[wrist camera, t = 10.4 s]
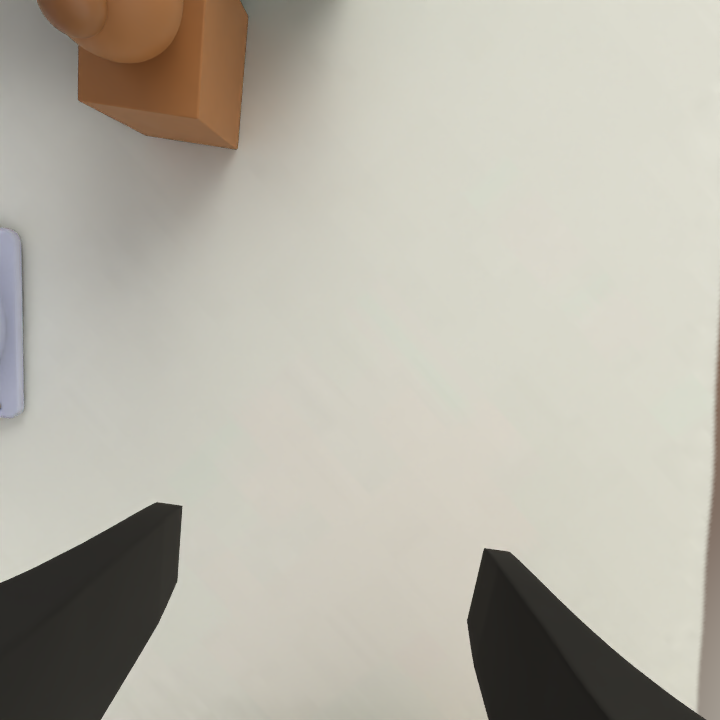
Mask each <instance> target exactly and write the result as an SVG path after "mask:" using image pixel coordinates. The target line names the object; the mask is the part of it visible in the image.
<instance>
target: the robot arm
mask: <svg viewBox="0 0 720 720" xmlns="http://www.w3.org/2000/svg"><path fill="white" fill-rule="evenodd" d="M0 404H1V408H0V417H3V418H13V417H15V416H17V415H20V414H21V413H22V412H23V410H24V367H23V309H22V250H21V239H20V237H19V235H18V234H17V233H16V232H15V231H14V230H12V229H9V228H2V227H0ZM181 518H182V506H179V505H172V504H165V503H158V502H156V503H154V504H152V505H150V506H148V507H146V508H145V509H143V510H141V511H139V512H137V513H136V514H134V515H132V516H130V517H129V518H127V519H125V520H123V521H122V522H120V523H118V524H116V525H115V526H113V527H111V528H109V529H107V530H106V531H104V532H102V533H100V534H98V535H97V536H95V537H93V538H91V539H89V540H88V541H86V542H84V543H82V544H80V545H78V546H76V547H74V548H72V549H70V550H68V551H66V552H65V553H63V554H61V555H59V556H57V557H55V558H53V559H51V560H49V561H47V562H45V563H43V564H41V565H39V566H37V567H35V568H33V569H31V570H28V571H26V572H24V573H22V574H20V575H18V576H15V577H13V578H11V579H9V580H6V581H4V582H2V583H0V720H101V719H102V717H103V715H104V714H105V712H106V710H107V709H108V707H109V705H110V704H111V702H112V700H113V699H114V697H115V695H116V694H117V692H118V690H119V689H120V687H121V685H122V684H123V682H124V680H125V679H126V677H127V675H128V674H129V672H130V670H131V669H132V667H133V665H134V664H135V662H136V660H137V659H138V657H139V655H140V654H141V652H142V650H143V649H144V647H145V645H146V643H147V642H148V640H149V638H150V637H151V635H152V633H153V632H154V630H155V628H156V626H157V625H158V623H159V621H160V619H161V616H162V614H163V612H164V610H165V608H166V606H167V603H168V601H169V599H170V597H171V594H172V592H173V590H174V587H175V585H176V583H177V578H178V563H179V548H180V533H181ZM467 623H468V631H469V638H470V645H471V651H472V657H473V663H474V668H475V672H476V675H477V679H478V683H479V686H480V690H481V694H482V697H483V701H484V705H485V708H486V712H487V715H488V719H489V720H706V719H704V718H703V717H701V716H700V715H698V714H697V713H695V712H694V711H693V710H691V709H690V708H688V707H687V706H685V705H684V704H683V703H681V702H680V701H678V700H677V699H676V698H674V697H673V696H672V695H670V694H669V693H667V692H666V691H665V690H663V689H662V688H661V687H660V686H658V685H657V684H656V683H654V682H653V681H652V680H651V679H649V678H648V677H647V676H645V675H644V674H643V673H642V672H640V671H639V670H638V669H636V668H635V667H634V666H633V665H631V664H630V663H629V662H628V661H626V660H625V659H624V658H623V657H622V656H620V655H619V654H618V653H617V652H616V651H615V650H613V649H612V648H611V647H610V646H609V645H608V644H607V643H605V642H604V641H603V640H602V639H601V638H600V637H599V636H597V635H596V634H595V633H594V632H593V631H592V630H591V629H590V628H588V627H587V626H586V625H585V624H584V623H583V622H582V621H581V620H580V619H579V618H578V617H577V616H575V615H574V614H573V613H572V612H571V611H570V610H569V609H568V608H567V607H566V606H565V605H564V604H563V603H562V602H561V601H560V600H559V599H558V598H557V597H556V596H555V595H554V594H553V593H552V592H551V591H550V590H549V589H548V588H547V587H546V586H545V585H544V584H543V583H542V582H541V581H540V580H539V579H538V578H537V577H536V576H535V575H534V574H533V573H532V572H530V571H529V570H528V569H527V568H526V567H525V566H524V565H523V564H522V563H521V562H520V561H519V560H518V559H517V558H516V557H515V556H514V555H513V554H511V553H510V552H507V551H500V550H493V549H486V548H484V551H483V555H482V560H481V564H480V568H479V572H478V577H477V581H476V585H475V589H474V594H473V598H472V602H471V607H470V611H469V615H468V619H467Z"/></svg>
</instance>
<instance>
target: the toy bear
mask: <svg viewBox="0 0 720 720" xmlns="http://www.w3.org/2000/svg"><path fill="white" fill-rule="evenodd" d="M37 3H38V5H39V8H40V9H41V11H42V13H43V14H44V16H45V17H46V18H47V20H48V21H49V22H50V23H51V24H52V25H53V26H54V27H55V28H57V29H58V30H59V31H61V32H63V33H64V34H66V35H68V36H69V37H70V38H71V39H72V40H73V41H74V42H76V43H77V44H78V100H79V101H80V102H82V103H84V104H86V105H88V106H90V107H92V108H94V109H96V110H98V111H100V112H102V113H103V114H105V115H107V116H109V117H111V118H113V119H115V120H117V121H119V122H121V123H123V124H125V125H127V126H129V127H130V128H132V129H134V130H136V131H138V132H140V133H142V134H144V135H146V136H152V137H158V138H165V139H171V140H178V141H184V142H191V143H197V144H204V145H210V146H217V147H223V148H230V149H237V148H238V137H239V125H240V113H241V100H242V88H243V76H244V64H245V51H246V39H247V27H248V15H247V13H246V11H245V9H244V7H243V5H242V3H241V1H240V0H37Z"/></svg>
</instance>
